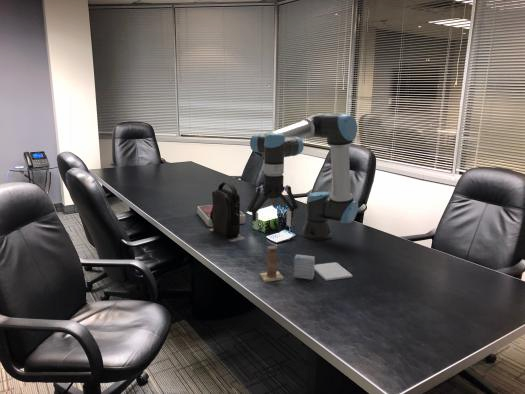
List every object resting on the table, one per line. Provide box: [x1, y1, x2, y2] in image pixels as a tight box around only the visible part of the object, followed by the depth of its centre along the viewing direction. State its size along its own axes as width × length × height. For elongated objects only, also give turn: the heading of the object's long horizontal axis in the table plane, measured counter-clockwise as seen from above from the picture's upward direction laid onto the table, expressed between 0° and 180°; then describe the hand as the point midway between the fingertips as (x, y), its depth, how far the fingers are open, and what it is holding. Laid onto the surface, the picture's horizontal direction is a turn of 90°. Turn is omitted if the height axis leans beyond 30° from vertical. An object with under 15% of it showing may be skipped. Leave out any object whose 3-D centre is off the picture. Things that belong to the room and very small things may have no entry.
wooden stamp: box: [259, 245, 284, 283], centre depth 167 cm, size 6×8×13 cm
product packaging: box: [197, 204, 246, 228], centre depth 246 cm, size 22×28×5 cm
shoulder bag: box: [209, 181, 246, 243], centre depth 216 cm, size 23×9×28 cm, turn 37°
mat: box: [314, 262, 353, 282], centre depth 174 cm, size 14×12×1 cm
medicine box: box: [293, 254, 316, 281], centre depth 168 cm, size 8×4×9 cm, turn 74°
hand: (272, 227), depth 163 cm, fingers open, 13 cm apart
